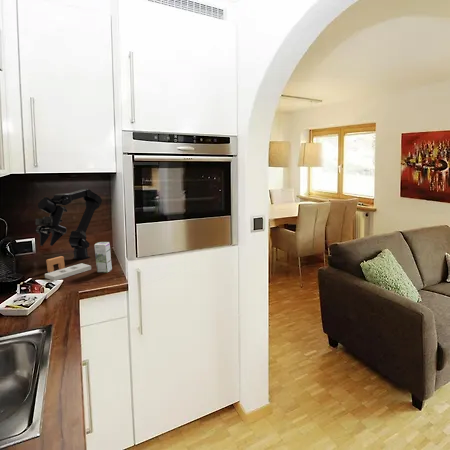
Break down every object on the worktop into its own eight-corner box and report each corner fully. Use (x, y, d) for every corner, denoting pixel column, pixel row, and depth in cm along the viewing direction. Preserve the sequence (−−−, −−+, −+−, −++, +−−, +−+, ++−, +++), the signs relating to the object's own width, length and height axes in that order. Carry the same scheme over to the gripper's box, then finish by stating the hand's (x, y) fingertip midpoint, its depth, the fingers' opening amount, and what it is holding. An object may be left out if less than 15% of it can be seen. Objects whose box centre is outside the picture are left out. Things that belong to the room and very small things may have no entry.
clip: (62, 267, 194) (61, 256, 193) (64, 268, 192) (63, 256, 191) (47, 271, 187) (46, 259, 186) (50, 272, 186) (48, 260, 185)
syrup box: (112, 269, 189) (110, 241, 186) (107, 272, 183) (105, 244, 180) (101, 269, 190) (99, 241, 187) (96, 272, 184) (93, 244, 181)
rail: (81, 266, 194) (81, 263, 194) (91, 269, 189) (90, 265, 189) (45, 277, 178) (44, 273, 177) (54, 280, 173) (53, 276, 173)
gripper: (31, 212, 190) (21, 240, 185) (51, 209, 180) (41, 240, 175) (50, 219, 199) (41, 247, 194) (71, 217, 188) (62, 247, 183)
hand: (46, 245), depth 186 cm, fingers open, 9 cm apart
